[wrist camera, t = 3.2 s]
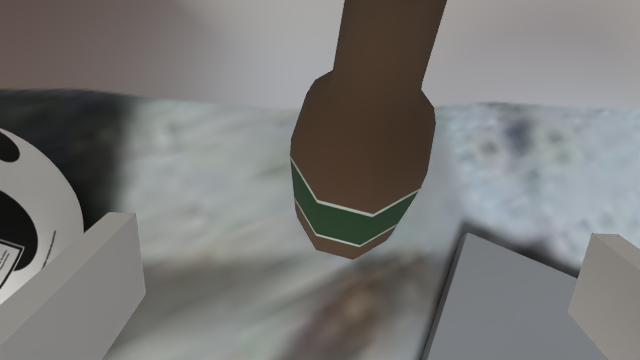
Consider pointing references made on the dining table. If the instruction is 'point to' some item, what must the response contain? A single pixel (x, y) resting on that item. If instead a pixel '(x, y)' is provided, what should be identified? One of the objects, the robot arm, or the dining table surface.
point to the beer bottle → (366, 127)
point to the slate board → (505, 309)
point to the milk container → (32, 213)
